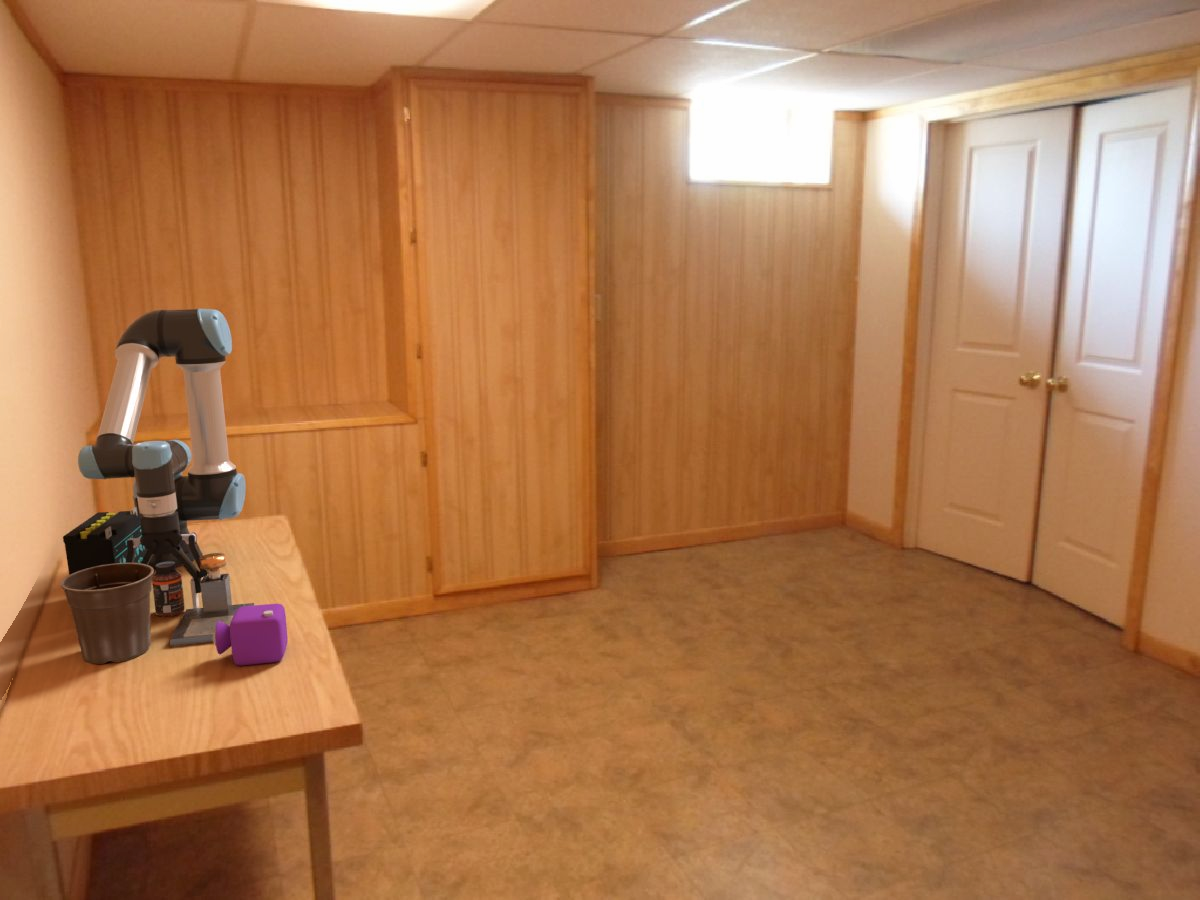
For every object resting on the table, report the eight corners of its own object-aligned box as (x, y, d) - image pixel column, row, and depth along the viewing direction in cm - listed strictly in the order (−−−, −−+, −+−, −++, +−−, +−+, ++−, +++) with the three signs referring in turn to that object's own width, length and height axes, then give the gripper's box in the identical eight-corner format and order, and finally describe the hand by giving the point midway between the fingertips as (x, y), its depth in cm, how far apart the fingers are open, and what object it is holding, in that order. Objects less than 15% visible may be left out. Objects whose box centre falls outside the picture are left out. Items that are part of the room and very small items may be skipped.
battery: (121, 617, 202) (110, 530, 198) (74, 620, 200) (62, 532, 196) (150, 587, 220) (140, 506, 216) (108, 589, 219) (97, 509, 215)
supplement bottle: (173, 618, 200) (168, 569, 198) (149, 617, 202) (143, 567, 199) (191, 608, 206) (185, 560, 204) (167, 606, 207) (161, 559, 205)
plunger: (205, 584, 201) (201, 554, 200) (230, 582, 202) (227, 552, 201) (200, 592, 196) (197, 561, 195) (226, 590, 197) (223, 559, 196)
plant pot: (180, 641, 188) (172, 566, 185) (116, 674, 173) (105, 593, 170) (120, 631, 194) (110, 558, 191) (52, 663, 179) (40, 584, 176)
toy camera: (214, 653, 182) (209, 606, 180) (287, 641, 187) (282, 595, 185) (215, 675, 172) (210, 625, 170) (292, 661, 178) (287, 613, 176)
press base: (187, 615, 202) (182, 576, 200) (254, 609, 205) (250, 570, 203) (170, 646, 186) (165, 604, 184) (243, 639, 189) (239, 597, 187)
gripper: (96, 521, 193) (109, 620, 198) (211, 513, 198) (221, 610, 203) (106, 512, 200) (119, 608, 205) (217, 504, 205) (227, 598, 210)
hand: (170, 609), depth 204 cm, fingers open, 10 cm apart
